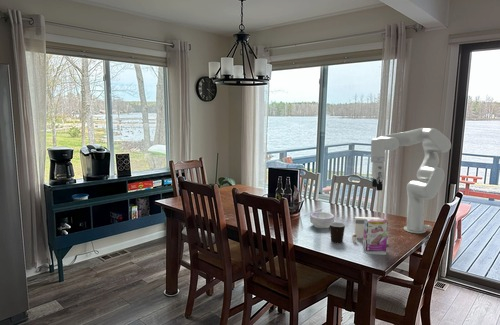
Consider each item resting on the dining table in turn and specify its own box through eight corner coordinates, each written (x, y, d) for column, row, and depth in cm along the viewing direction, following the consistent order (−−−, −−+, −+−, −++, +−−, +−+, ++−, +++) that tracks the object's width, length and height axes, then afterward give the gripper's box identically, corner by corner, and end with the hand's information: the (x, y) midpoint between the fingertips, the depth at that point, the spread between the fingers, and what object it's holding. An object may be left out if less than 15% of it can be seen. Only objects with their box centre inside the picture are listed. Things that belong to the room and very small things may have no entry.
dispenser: (382, 237, 200) (383, 217, 198) (387, 244, 189) (388, 223, 187) (350, 236, 203) (350, 216, 201) (353, 242, 191) (353, 222, 190)
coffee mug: (333, 237, 200) (333, 221, 199) (347, 240, 195) (347, 224, 193) (324, 243, 191) (324, 226, 190) (338, 246, 186) (338, 229, 184)
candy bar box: (366, 251, 177) (367, 221, 175) (362, 248, 182) (363, 218, 180) (386, 251, 178) (388, 220, 176) (382, 247, 183) (384, 218, 180)
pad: (381, 247, 184) (382, 246, 184) (386, 254, 174) (386, 253, 174) (362, 247, 185) (362, 246, 185) (366, 253, 176) (366, 252, 176)
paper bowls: (332, 231, 212) (332, 219, 211) (308, 228, 216) (308, 216, 215) (334, 224, 226) (335, 212, 225) (311, 222, 231) (312, 210, 230)
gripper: (388, 161, 186) (388, 191, 188) (380, 157, 203) (379, 185, 205) (374, 161, 187) (374, 191, 189) (367, 157, 204) (367, 185, 206)
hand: (377, 188), depth 197 cm, fingers open, 9 cm apart
